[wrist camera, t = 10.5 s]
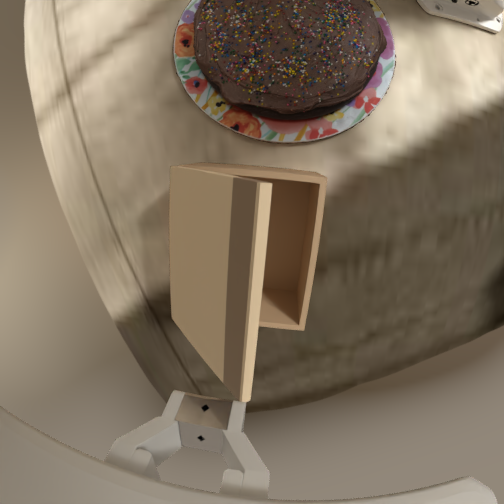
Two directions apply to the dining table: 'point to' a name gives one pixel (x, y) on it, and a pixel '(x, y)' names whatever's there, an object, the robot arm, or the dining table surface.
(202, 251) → the lid
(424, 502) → the robot arm
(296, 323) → the carton
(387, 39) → the chocolate cake
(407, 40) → the dining table surface
